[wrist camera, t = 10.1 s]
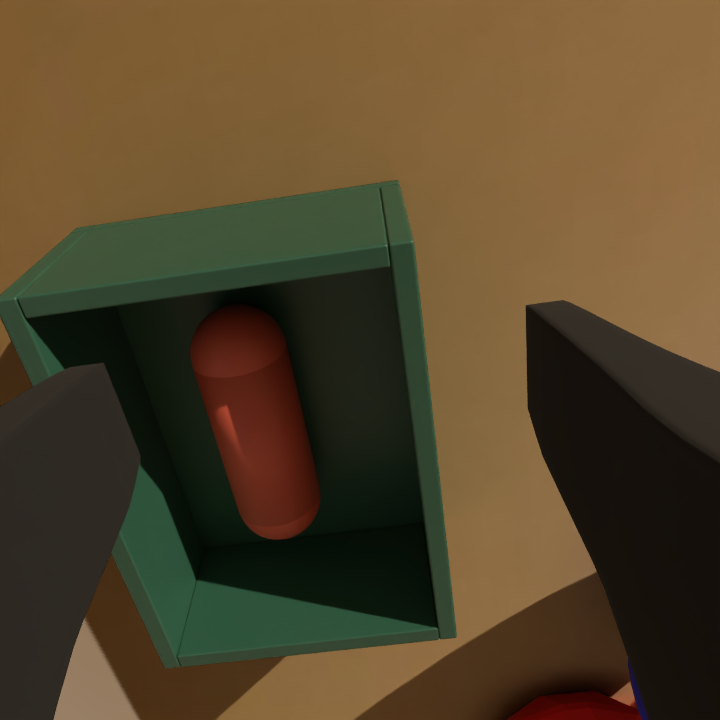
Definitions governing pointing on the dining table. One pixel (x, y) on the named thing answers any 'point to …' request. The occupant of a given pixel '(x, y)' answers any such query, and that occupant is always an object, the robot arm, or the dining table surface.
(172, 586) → the bin
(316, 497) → the red capsule pill
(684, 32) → the dining table surface
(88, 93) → the dining table surface
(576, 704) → the gemstone
